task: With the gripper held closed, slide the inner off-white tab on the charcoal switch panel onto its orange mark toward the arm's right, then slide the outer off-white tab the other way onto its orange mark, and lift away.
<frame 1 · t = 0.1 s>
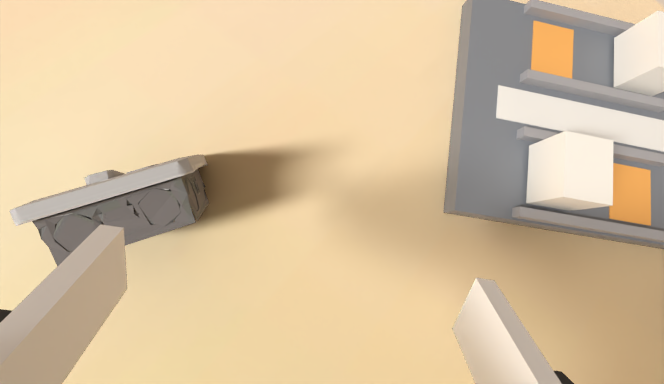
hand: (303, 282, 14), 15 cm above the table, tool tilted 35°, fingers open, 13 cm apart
switch panel: (572, 128, 34), on the table
inner tab: (567, 173, 29), point 4 cm above the table, slide at 0.0 cm
outer tab: (654, 55, 32), point 4 cm above the table, slide at 0.0 cm
electrical switch: (159, 204, 28), on the table
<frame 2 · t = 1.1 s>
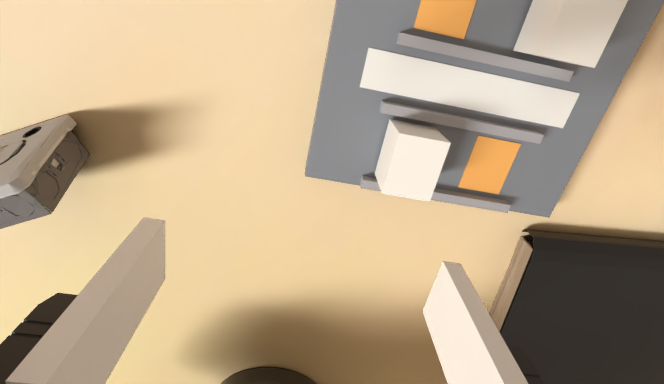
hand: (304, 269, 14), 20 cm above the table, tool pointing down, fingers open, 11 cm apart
switch panel: (462, 85, 31), on the table
inner tab: (409, 159, 30), point 4 cm above the table, slide at 0.0 cm
outer tab: (567, 21, 25), point 4 cm above the table, slide at 0.0 cm
electrical switch: (49, 153, 33), on the table
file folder: (612, 316, 45), on the table
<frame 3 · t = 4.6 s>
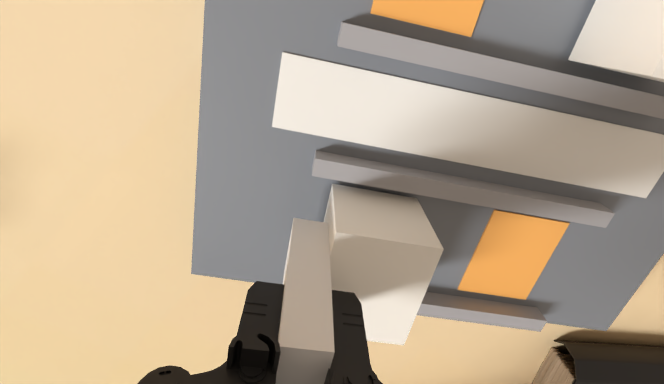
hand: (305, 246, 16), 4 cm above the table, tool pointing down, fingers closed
switch panel: (466, 120, 18), on the table
inner tab: (366, 261, 16), point 4 cm above the table, slide at 0.0 cm, touching gripper
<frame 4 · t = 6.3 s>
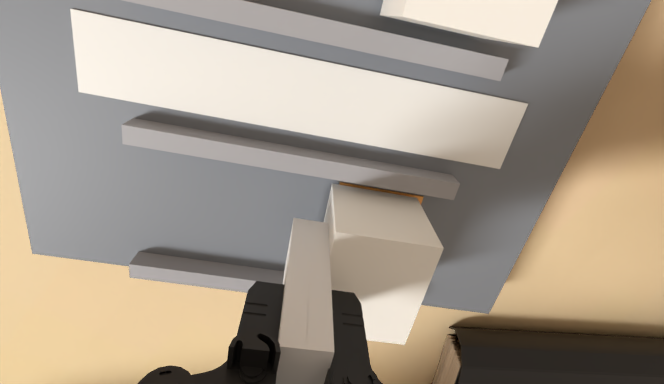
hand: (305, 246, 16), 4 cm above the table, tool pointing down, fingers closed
switch panel: (310, 88, 17), on the table
inner tab: (367, 261, 16), point 4 cm above the table, slide at 7.6 cm, touching gripper
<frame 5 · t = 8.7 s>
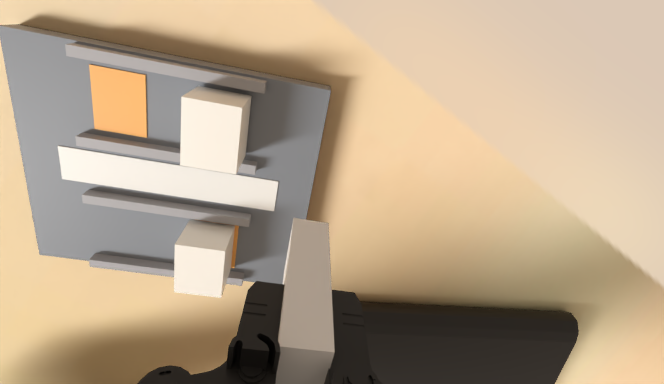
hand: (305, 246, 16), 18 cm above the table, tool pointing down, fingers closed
switch panel: (180, 170, 33), on the table
inner tab: (205, 257, 32), point 4 cm above the table, slide at 7.7 cm
outer tab: (217, 129, 27), point 4 cm above the table, slide at 0.0 cm
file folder: (408, 368, 47), on the table
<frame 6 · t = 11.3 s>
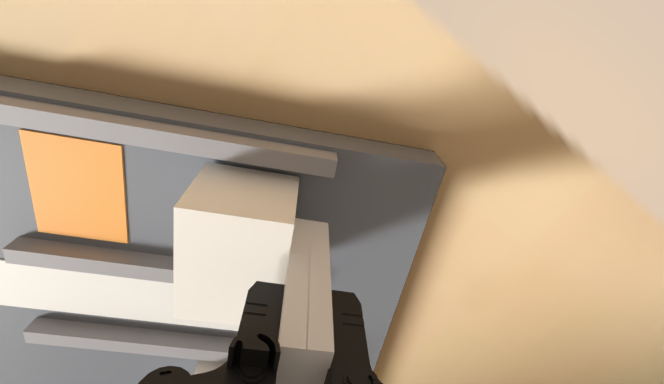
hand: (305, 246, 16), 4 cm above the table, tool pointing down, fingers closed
switch panel: (183, 277, 21), on the table
outer tab: (240, 243, 15), point 4 cm above the table, slide at 0.4 cm, touching gripper
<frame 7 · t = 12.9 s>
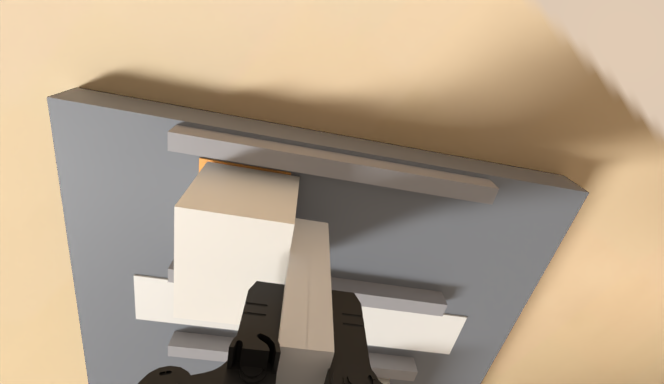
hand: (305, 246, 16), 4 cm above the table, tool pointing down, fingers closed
switch panel: (305, 292, 22), on the table
outer tab: (240, 242, 15), point 4 cm above the table, slide at 7.6 cm, touching gripper
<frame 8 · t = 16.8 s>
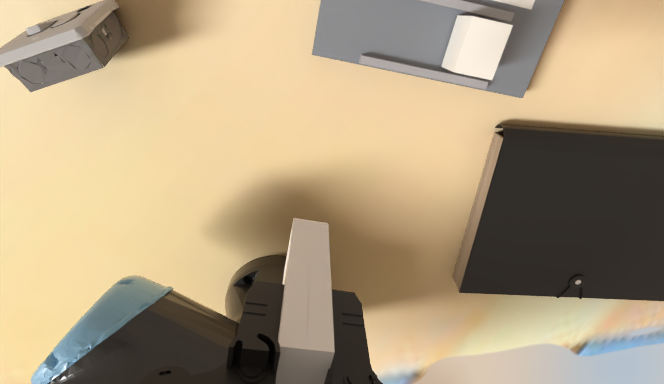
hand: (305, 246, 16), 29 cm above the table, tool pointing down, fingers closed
inner tab: (474, 47, 36), point 4 cm above the table, slide at 7.7 cm
electrical switch: (94, 37, 39), on the table
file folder: (583, 213, 51), on the table
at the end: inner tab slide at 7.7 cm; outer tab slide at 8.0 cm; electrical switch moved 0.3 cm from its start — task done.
